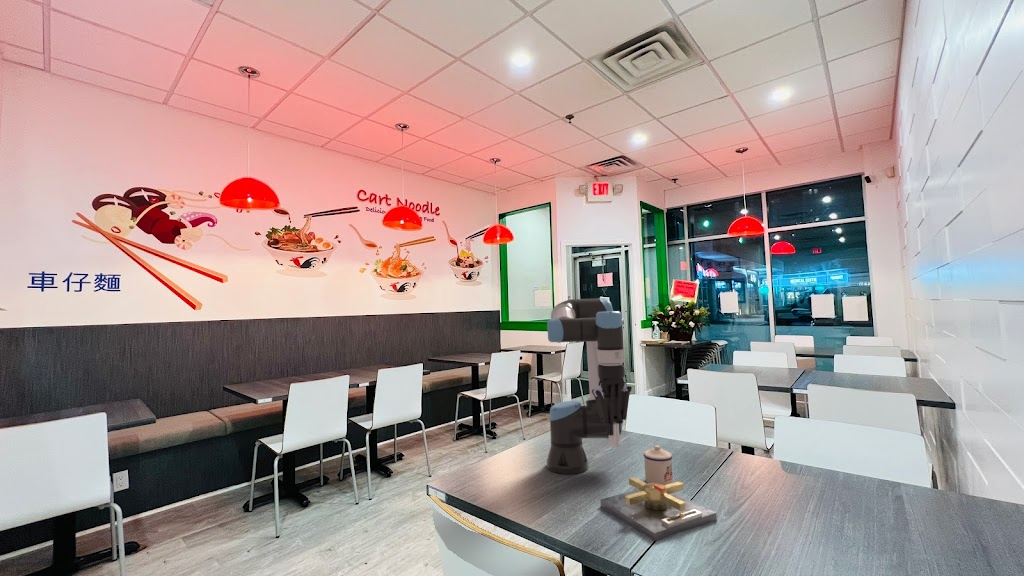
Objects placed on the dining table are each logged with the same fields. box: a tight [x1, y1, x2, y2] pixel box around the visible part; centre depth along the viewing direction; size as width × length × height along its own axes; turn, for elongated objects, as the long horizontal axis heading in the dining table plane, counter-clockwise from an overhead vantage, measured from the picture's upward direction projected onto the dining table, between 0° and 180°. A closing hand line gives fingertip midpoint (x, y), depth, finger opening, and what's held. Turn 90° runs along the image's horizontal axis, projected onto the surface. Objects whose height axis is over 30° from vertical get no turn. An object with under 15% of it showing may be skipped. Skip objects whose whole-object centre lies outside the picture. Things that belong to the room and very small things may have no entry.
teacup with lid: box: [643, 445, 674, 485], centre depth 146 cm, size 12×9×12 cm
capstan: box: [625, 476, 686, 511], centre depth 123 cm, size 20×20×6 cm
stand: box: [600, 489, 717, 542], centre depth 122 cm, size 22×22×4 cm
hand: (614, 445), depth 125 cm, fingers closed
